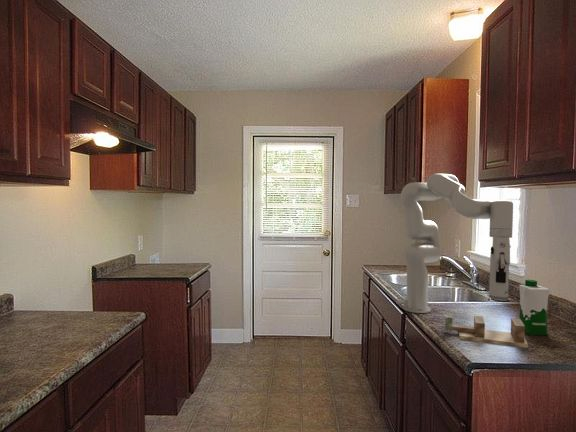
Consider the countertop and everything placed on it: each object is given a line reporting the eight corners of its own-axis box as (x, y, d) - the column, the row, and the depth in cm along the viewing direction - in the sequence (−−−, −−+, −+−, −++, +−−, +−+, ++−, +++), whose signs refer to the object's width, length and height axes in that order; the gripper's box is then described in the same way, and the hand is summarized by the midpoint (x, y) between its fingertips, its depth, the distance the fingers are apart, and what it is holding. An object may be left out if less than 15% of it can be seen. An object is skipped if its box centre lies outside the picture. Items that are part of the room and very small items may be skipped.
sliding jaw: (445, 332, 149) (445, 319, 149) (445, 324, 158) (445, 312, 158) (484, 337, 144) (484, 323, 144) (482, 329, 153) (482, 316, 153)
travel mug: (511, 300, 144) (513, 246, 143) (492, 299, 145) (493, 245, 144) (505, 296, 150) (507, 244, 149) (486, 295, 151) (488, 243, 150)
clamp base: (459, 338, 146) (460, 319, 146) (459, 329, 157) (459, 311, 157) (527, 347, 138) (528, 327, 137) (522, 337, 149) (522, 318, 148)
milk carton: (536, 328, 160) (538, 279, 159) (551, 335, 151) (553, 284, 150) (515, 328, 160) (516, 279, 159) (528, 335, 151) (530, 284, 150)
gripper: (516, 235, 137) (514, 286, 138) (508, 232, 153) (507, 277, 154) (492, 234, 140) (490, 284, 140) (487, 231, 156) (485, 276, 156)
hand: (499, 280), depth 147 cm, fingers closed on travel mug, 6 cm apart
